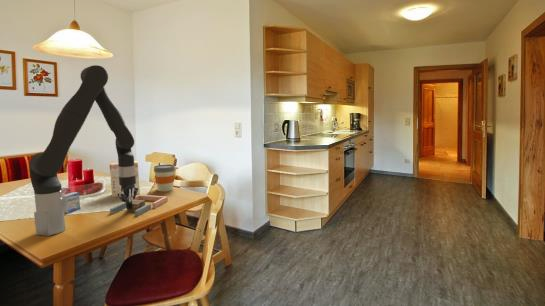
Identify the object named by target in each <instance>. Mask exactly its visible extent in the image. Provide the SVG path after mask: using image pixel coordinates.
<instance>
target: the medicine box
mask: <svg viewBox="0 0 545 306" xmlns="http://www.w3.org/2000/svg"><path fill="white" fill-rule="evenodd" d="M62 198H63V208H64V214H70V213H74V212H76V211H78V210H80V209H81V199H80V192H78V191H77V192H75V191H73V192H70V193H69V192H68V193H66V194H62Z"/></svg>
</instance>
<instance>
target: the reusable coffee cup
mask: <svg viewBox="0 0 545 306" xmlns="http://www.w3.org/2000/svg"><path fill="white" fill-rule="evenodd" d="M175 167H176V166H175V164H157V165H155V166H153V172H154V180H155V183H156V186H157V191H159V192H170V191H172V190H174V182H175V178H176V177H175V176H176V174H175V171H176V168H175Z"/></svg>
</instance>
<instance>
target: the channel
mask: <svg viewBox="0 0 545 306" xmlns="http://www.w3.org/2000/svg"><path fill="white" fill-rule="evenodd" d="M124 209H126V202H122V203H119V204H117V205H116V206H112V207H111V208H110V209H109V214H110V215H114V214H115V213H116V214H117V213H118V212H120V211H122V210H124ZM151 209H152V205H151V203H147V204H145V206H143V207H141V208H139V209H137V210H135V211H134V216H136V217H139V216H140V215H142V214H144V213H146V212H147V211H149V210H151Z"/></svg>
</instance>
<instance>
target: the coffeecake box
mask: <svg viewBox="0 0 545 306" xmlns="http://www.w3.org/2000/svg"><path fill="white" fill-rule="evenodd" d="M134 166H135V174H136V184H134V185H135V188H138V191H137V194H136V196H137V195H141V193H140V192H141V191H140V189H141V188H140V187H141V186H140V177H139V163H138V160H134ZM118 169H119V166H118V162H117V161H115V162H110V163H109V174H110V177H109V178H110V187H111V197H112V198H115V197H116V198H117V197H118V194H120V193H121V185H119V174H118ZM118 198H119V197H118Z"/></svg>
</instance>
